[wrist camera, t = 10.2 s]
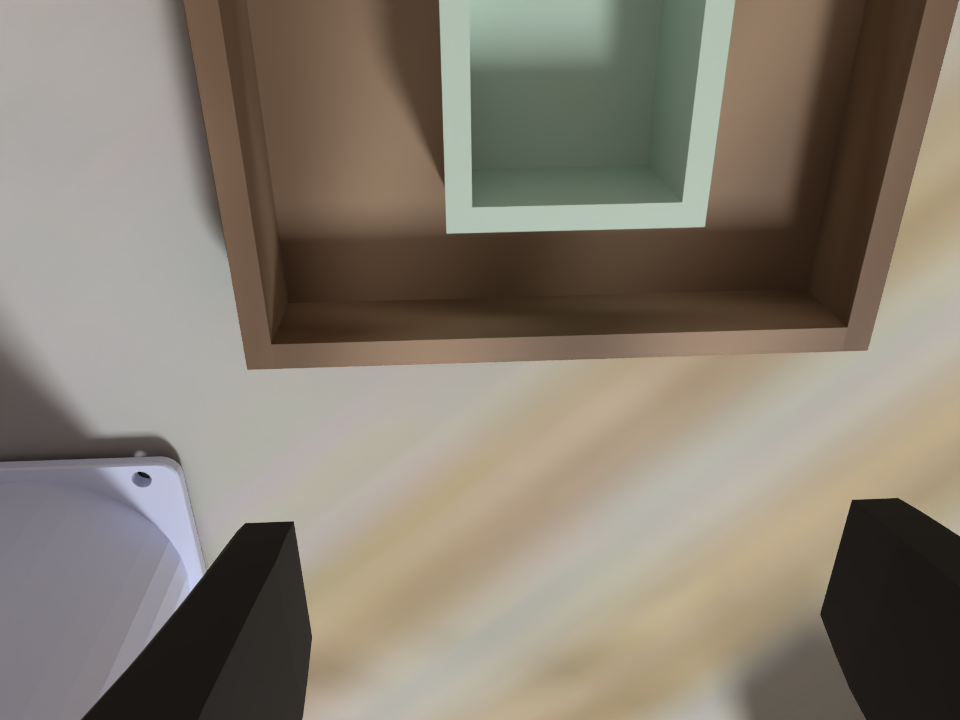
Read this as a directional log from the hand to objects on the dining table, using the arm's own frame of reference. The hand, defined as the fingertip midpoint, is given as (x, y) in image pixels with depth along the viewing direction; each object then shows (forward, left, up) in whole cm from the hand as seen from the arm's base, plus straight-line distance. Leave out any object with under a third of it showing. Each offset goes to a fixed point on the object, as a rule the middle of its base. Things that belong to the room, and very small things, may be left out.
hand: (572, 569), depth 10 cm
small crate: (+1, +6, -10) cm, 11 cm away
